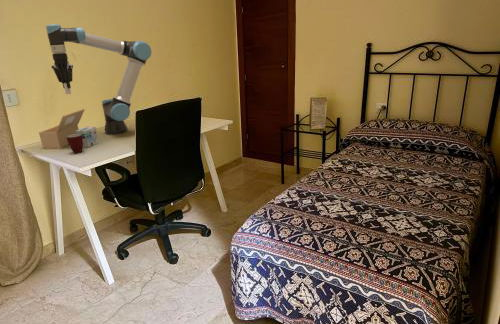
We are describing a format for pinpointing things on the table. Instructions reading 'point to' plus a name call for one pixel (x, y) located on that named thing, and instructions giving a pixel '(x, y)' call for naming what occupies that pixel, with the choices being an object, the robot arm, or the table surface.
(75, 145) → the mug
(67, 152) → the table surface
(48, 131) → the carton
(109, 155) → the table surface
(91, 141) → the light bulb box
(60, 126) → the box lid
